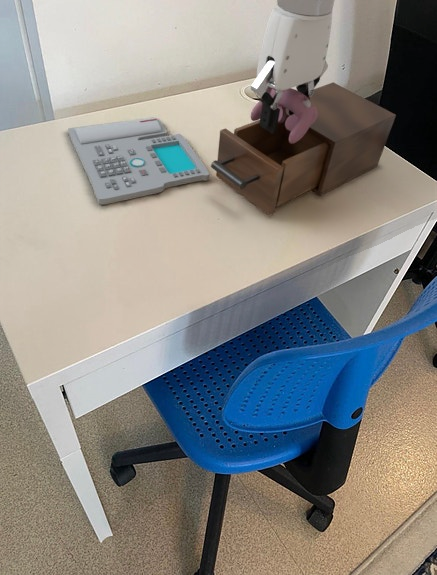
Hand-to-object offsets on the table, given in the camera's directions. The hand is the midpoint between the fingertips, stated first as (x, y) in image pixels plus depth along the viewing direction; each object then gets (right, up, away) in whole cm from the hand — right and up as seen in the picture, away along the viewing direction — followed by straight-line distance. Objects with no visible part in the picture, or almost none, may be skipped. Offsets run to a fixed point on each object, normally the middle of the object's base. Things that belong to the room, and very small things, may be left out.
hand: (282, 122), depth 79 cm
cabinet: (+9, -2, +15) cm, 18 cm away
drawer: (-2, -8, +7) cm, 11 cm away
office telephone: (-25, -3, +12) cm, 28 cm away
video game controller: (0, -1, +1) cm, 1 cm away
